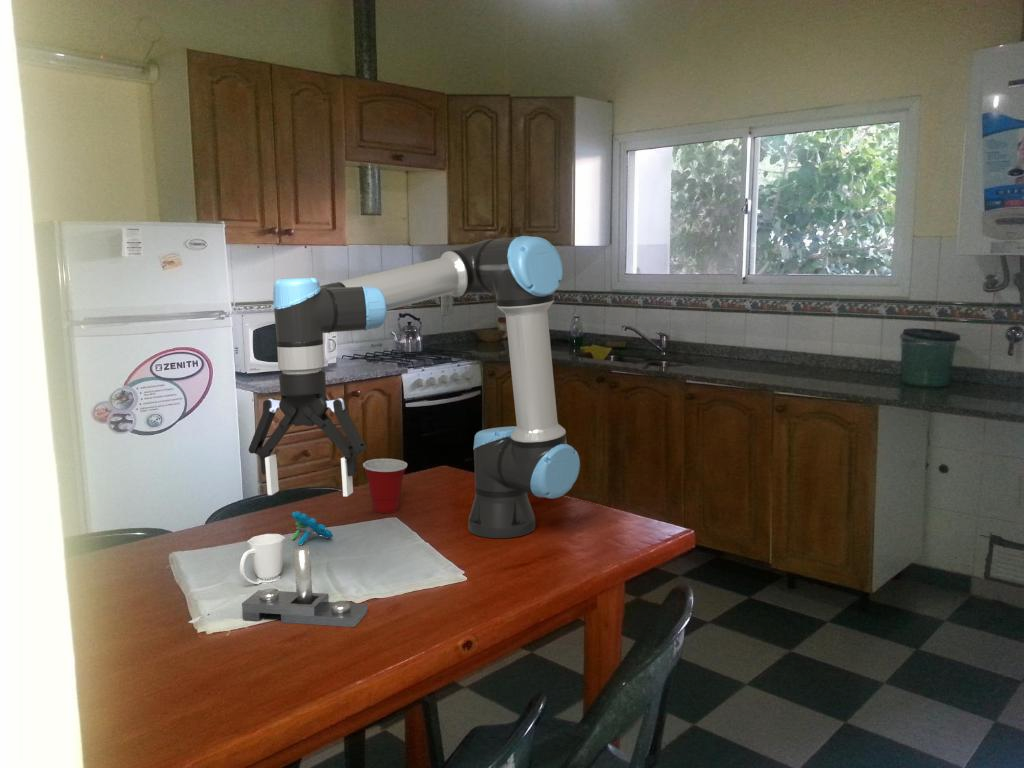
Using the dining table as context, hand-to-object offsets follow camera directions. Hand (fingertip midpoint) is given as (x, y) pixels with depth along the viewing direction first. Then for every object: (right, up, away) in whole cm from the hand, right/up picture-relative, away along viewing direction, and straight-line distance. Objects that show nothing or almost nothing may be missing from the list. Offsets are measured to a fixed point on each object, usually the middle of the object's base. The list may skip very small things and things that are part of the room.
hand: (310, 493), depth 142 cm
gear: (-9, -16, +40) cm, 44 cm away
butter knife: (-20, -22, -2) cm, 30 cm away
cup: (-13, -19, +16) cm, 28 cm away
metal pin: (-1, -21, 0) cm, 21 cm away
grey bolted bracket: (-1, -21, 0) cm, 21 cm away
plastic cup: (+4, -13, +63) cm, 64 cm away
